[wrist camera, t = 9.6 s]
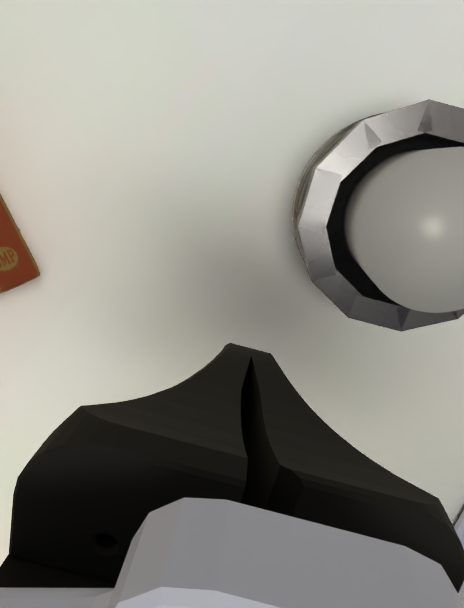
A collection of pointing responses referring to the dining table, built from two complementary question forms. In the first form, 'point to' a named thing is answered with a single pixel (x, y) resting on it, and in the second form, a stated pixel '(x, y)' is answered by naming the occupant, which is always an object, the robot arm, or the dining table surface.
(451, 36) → the dining table surface
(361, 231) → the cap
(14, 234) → the carton
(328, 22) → the dining table surface
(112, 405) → the robot arm
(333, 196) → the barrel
